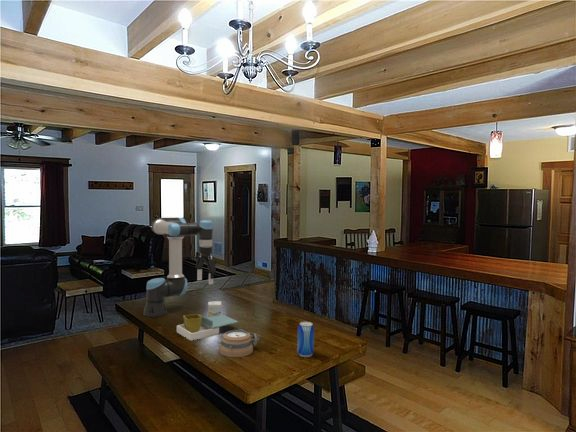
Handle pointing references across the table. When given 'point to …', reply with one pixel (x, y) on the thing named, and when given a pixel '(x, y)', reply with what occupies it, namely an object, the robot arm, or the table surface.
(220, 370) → the table surface
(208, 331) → the white square tray
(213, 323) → the lid
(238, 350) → the alarm clock
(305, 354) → the beer can
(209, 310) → the ink box
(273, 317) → the table surface
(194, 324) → the flower pot
